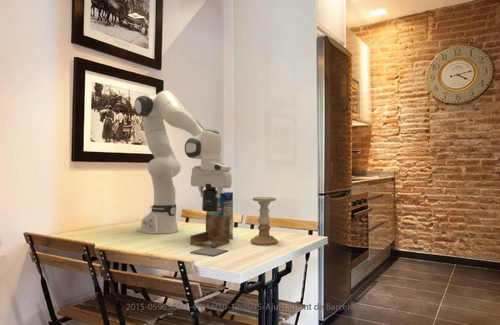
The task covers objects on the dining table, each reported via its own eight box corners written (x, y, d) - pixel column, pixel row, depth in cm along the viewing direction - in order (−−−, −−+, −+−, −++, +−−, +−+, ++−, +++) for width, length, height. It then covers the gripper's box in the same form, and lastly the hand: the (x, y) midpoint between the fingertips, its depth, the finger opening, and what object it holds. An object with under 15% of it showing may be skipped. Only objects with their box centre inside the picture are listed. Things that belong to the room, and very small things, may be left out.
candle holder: (283, 242, 163) (283, 198, 164) (264, 246, 155) (264, 199, 155) (263, 238, 172) (263, 196, 172) (244, 242, 163) (245, 197, 164)
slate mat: (190, 253, 142) (190, 251, 142) (205, 248, 151) (205, 246, 151) (213, 256, 137) (213, 255, 137) (227, 251, 146) (227, 250, 146)
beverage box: (223, 240, 167) (223, 193, 167) (206, 237, 174) (206, 192, 174) (232, 238, 172) (233, 192, 173) (215, 235, 179) (216, 191, 179)
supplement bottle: (204, 211, 156) (205, 184, 156) (200, 210, 162) (201, 183, 162) (219, 211, 158) (220, 184, 158) (215, 209, 165) (215, 183, 165)
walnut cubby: (190, 245, 157) (190, 217, 158) (207, 240, 168) (207, 214, 168) (213, 248, 151) (213, 219, 151) (229, 243, 162) (229, 216, 162)
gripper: (187, 165, 163) (187, 196, 163) (225, 166, 153) (225, 199, 153) (196, 165, 168) (196, 195, 168) (233, 166, 158) (233, 198, 158)
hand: (210, 197), depth 160 cm, fingers closed on supplement bottle, 6 cm apart
